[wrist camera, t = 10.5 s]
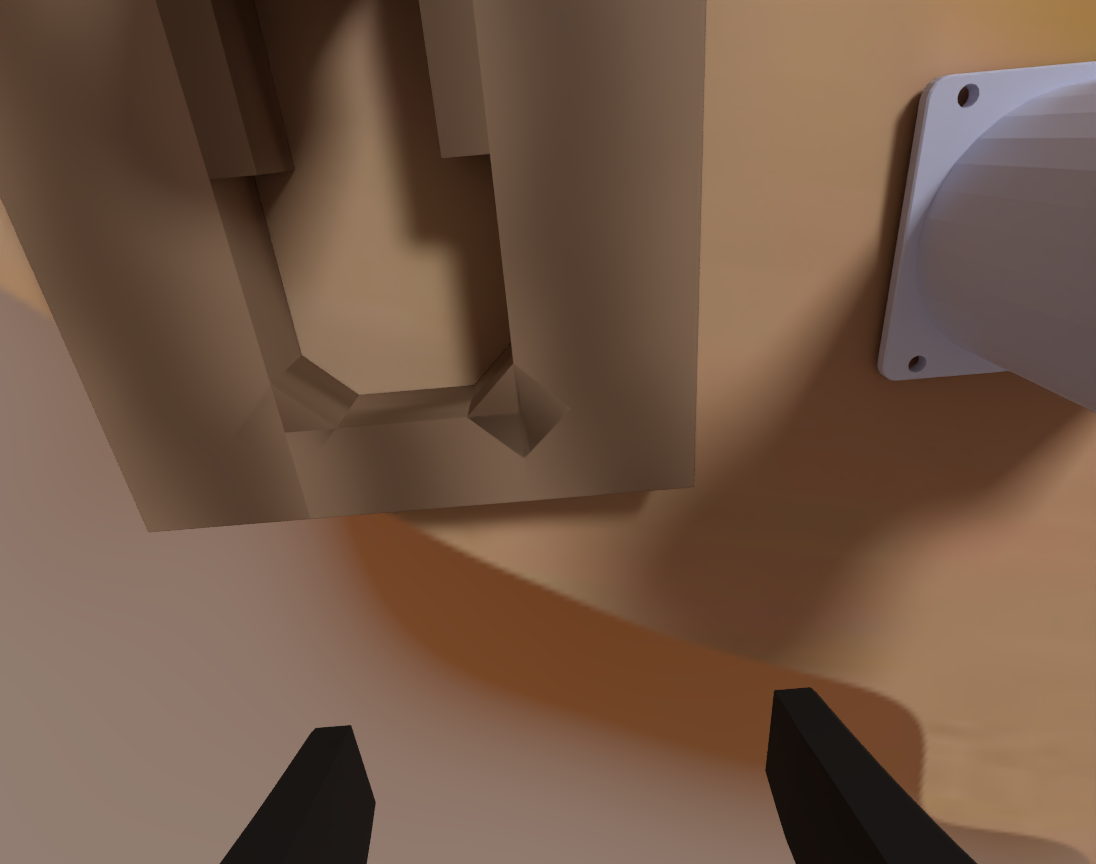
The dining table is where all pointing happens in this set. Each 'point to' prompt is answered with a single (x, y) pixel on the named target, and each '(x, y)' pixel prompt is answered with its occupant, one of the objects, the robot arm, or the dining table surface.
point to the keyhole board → (256, 287)
